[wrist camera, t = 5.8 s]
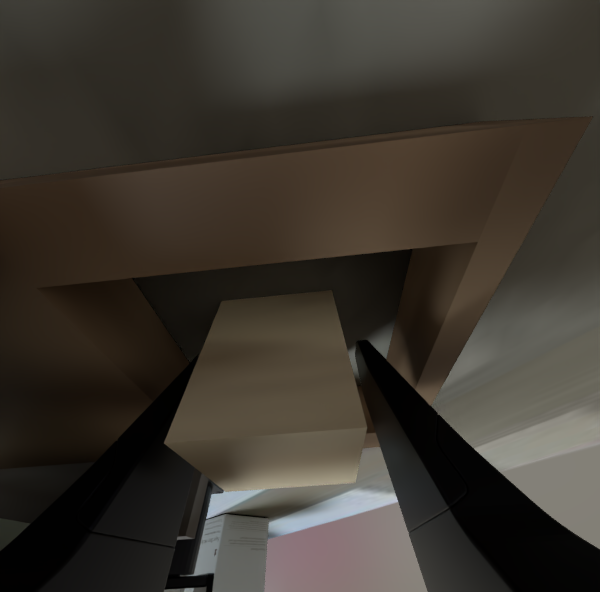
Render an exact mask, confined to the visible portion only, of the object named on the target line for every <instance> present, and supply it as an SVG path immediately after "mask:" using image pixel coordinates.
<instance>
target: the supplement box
mask: <svg viewBox="0 0 600 592" xmlns="http://www.w3.org/2000/svg"><path fill="white" fill-rule="evenodd" d="M268 524H269V519H268V518H260V517H250V516H239V515H230V514H224V515H221V516H218V517H214V518H211V519H208V520H206V521H205V526H204V530H203V535H202V540H201V544H200V549H199V553H198V558H197V563H196V567H195V572H194V574H193V575H188V576H197V575H200V574H206V573H214V581H213V590H212V592H264V585H265V571H266V554H267V539H268ZM193 590H194V588H185V590H184V592H193Z"/></svg>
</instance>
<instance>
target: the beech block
mask: <svg viewBox="0 0 600 592" xmlns="http://www.w3.org/2000/svg"><path fill="white" fill-rule="evenodd" d="M366 431H367V424H366V421H365V417H364V413H363V409H362V405H361V401H360V397H359V393H358V390H357V386H356V382H355V378H354V374H353V370H352V366H351V362H350V359H349V355H348V351H347V347H346V343H345V339H344V335H343V331H342V328H341V324H340V320H339V316H338V312H337V308H336V304H335V300H334V296H333V293H332V290H328V291H318V292H308V293H298V294H288V295H277V296H267V297H257V298H247V299H237V300H227V301H221V304H220V306H219V309H218V311H217V314H216V316H215V318H214V321H213V323H212V326H211V328H210V331H209V333H208V336H207V338H206V341H205V343H204V346H203V348H202V350H201V353H200V355H199V358H198V360H197V363H196V365H195V368H194V370H193V373H192V375H191V377H190V380H189V382H188V385H187V387H186V390H185V392H184V395H183V397H182V400H181V402H180V405H179V407H178V409H177V412H176V414H175V417H174V419H173V422H172V424H171V427H170V429H169V432H168V434H167V437H166V439H165V441H164V444H165V445H167V446H168V447H169V448H171V449H172V450H173V451H174V452H176V453H177V454H178V455H179V456H181V457H182V458H183V459H185V460H186V461H187V462H188V463H190V464H191V465H192V466H193V467H195V468H196V469H197V470H199V471H200V472H201V473H202V474H204V475H205V476H206V477H207V478H209V479H210V480H211V481H213V482H214V483H215V484H216V485H218V486H219V487H220V488H221V489H223V490H224V491H225V492H229V491H244V490H258V489H273V488H287V487H301V486H316V485H330V484H344V483H355V481H356V477H357V472H358V467H359V463H360V458H361V454H362V449H363V445H364V440H365V435H366Z"/></svg>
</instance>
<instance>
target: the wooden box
mask: <svg viewBox="0 0 600 592" xmlns="http://www.w3.org/2000/svg"><path fill="white" fill-rule="evenodd" d="M592 118H593V116H590V117H569V118H547V119H526V120H505V121H484V122H475V123H466V124H458V125H450V126H442V127H434V128H425V129H417V130H409V131H401V132H393V133H385V134H376V135H368V136H360V137H352V138H344V139H335V140H327V141H319V142H311V143H303V144H294V145H286V146H278V147H270V148H262V149H253V150H245V151H237V152H229V153H221V154H212V155H204V156H196V157H188V158H180V159H172V160H163V161H155V162H147V163H139V164H131V165H122V166H114V167H106V168H98V169H90V170H81V171H73V172H65V173H57V174H49V175H40V176H32V177H24V178H16V179H8V180H0V518H2V519H7V520H13V521H19V522H24V523H30V524H31V523H32V522H33V521H34V520H35V519H36V518H37V517H38V516H39V515H40V514H41V513H42V512H43V511H44V510H45V509H47V508H48V507H49V506H50V505H51V504H52V503H53V502H54V501H55V500H56V499H57V498H58V497H59V496H60V495H61V494H63V493H64V492H65V491H66V490H67V489H68V488H69V487H70V486H71V485H72V484H73V483H74V482H75V481H76V480H77V479H78V478H79V477H80V476H81V475H82V474H83V473H84V472H85V471H87V470H88V469H89V468H90V467H91V466H92V464H93V463H94V462H95V461H96V460H97V459H98V458H99V457H100V456H101V455H102V454H103V453H104V452H105V451H106V450H107V449H108V448H109V447H110V446H111V445H112V444H113V443H114V442H115V441H117V440H118V438H119V437H120V436H121V435H122V434H123V433H124V432H125V430H126V429H127V428H128V427H129V426H130V425H131V424H132V423H133V422H134V421H135V420H136V419H137V418H138V417H139V416H140V415H141V414H142V413H143V412H144V411H145V410H146V408H147V407H148V406H149V405H150V404H151V403H152V402H153V401H154V400H155V399H156V398H157V397H158V396H159V395H160V394H161V393H162V392H163V391H164V390H165V389H166V388H167V387H168V385H169V384H170V383H171V382H172V381H173V380H174V379H175V378H176V377H177V376H178V375H179V374H180V373H181V372H182V371H183V370H184V369H185V368H186V367H187V366H188V365H189V362H188V360H187V359H186V357H185V356H184V354H183V353H182V351H181V350H180V348H179V347H178V345H177V344H176V342H175V341H174V339H173V338H172V336H171V335H170V334H169V332H168V331H167V329H166V328H165V326H164V325H163V323H162V322H161V320H160V319H159V317H158V316H157V314H156V313H155V311H154V310H153V309H152V307H151V306H150V304H149V303H148V301H147V300H146V298H145V297H144V295H143V294H142V292H141V291H140V289H139V288H138V286H137V285H136V284H135V282H134V281H133V279H132V278H138V277H147V276H157V275H166V274H176V273H186V272H195V271H205V270H214V269H224V268H233V267H243V266H252V265H262V264H272V263H281V262H291V261H300V260H310V259H319V258H329V257H338V256H348V255H358V254H367V253H377V252H386V251H396V250H405V249H413V250H412V254H411V258H410V262H409V266H408V271H407V275H406V279H405V283H404V288H403V292H402V296H401V300H400V304H399V309H398V313H397V317H396V321H395V325H394V330H393V334H392V338H391V342H390V347H389V351H388V355H387V359H386V360H387V361H388V362H389V363H390V364H391V365H392V366H393V367H394V368H395V369H396V370H397V371H398V372H399V373H400V374H401V376H402V377H403V378H404V379H405V380H406V381H407V382H408V383H409V384H410V385H411V386H412V387H413V388H414V389H415V390H416V391H417V392H418V393H419V394H420V395H421V396H422V397H423V398H424V399H425V400H426V401H427V402H428V403H429V405H430V406H431V405H432V403H433V401H434V399H435V398H436V396H437V394H438V392H439V391H440V389H441V387H442V385H443V383H444V382H445V380H446V378H447V376H448V375H449V373H450V371H451V369H452V367H453V366H454V364H455V362H456V360H457V358H458V357H459V355H460V353H461V351H462V350H463V348H464V346H465V344H466V342H467V341H468V339H469V337H470V335H471V334H472V332H473V330H474V328H475V326H476V325H477V323H478V321H479V319H480V317H481V316H482V314H483V312H484V310H485V309H486V307H487V305H488V303H489V301H490V300H491V298H492V296H493V294H494V293H495V291H496V289H497V287H498V285H499V284H500V282H501V280H502V278H503V277H504V275H505V273H506V271H507V269H508V268H509V266H510V264H511V262H512V260H513V259H514V257H515V255H516V253H517V252H518V250H519V248H520V246H521V244H522V243H523V241H524V239H525V237H526V236H527V234H528V232H529V230H530V228H531V227H532V225H533V223H534V221H535V219H536V218H537V216H538V214H539V212H540V211H541V209H542V207H543V205H544V203H545V202H546V200H547V198H548V196H549V195H550V193H551V191H552V189H553V187H554V186H555V184H556V182H557V180H558V179H559V177H560V175H561V173H562V171H563V170H564V168H565V166H566V164H567V162H568V161H569V159H570V157H571V155H572V154H573V152H574V150H575V148H576V146H577V145H578V143H579V141H580V139H581V138H582V136H583V134H584V132H585V130H586V129H587V127H588V125H589V123H590V121H591V120H592ZM357 390H358V393H359V397H360V401H361V405H362V409H363V413H364V417H365V421H366V424H367V431H366V435H365V440H364V445H363V448H372V447H380V444H379V441H378V438H377V435H376V432H375V429H374V426H373V423H372V420H371V417H370V414H369V411H368V408H367V405H366V402H365V398H364V395H363V391H362V387H361V386H357ZM208 480H209V478H207V477H206V476H205V475H204V474H202V473H201V472H200V471H199V470H197V469H196V468H195V470H194V474H193V478H192V482H191V486H190V490H189V494H188V498H187V502H186V506H185V510H184V514H183V518H182V522H181V525H180V529H179V533H178V537H177V540H182V539H195V535H196V531H197V526H198V522H199V518H200V514H201V509H202V505H203V501H204V497H205V492H206V488H207V484H208Z"/></svg>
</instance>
